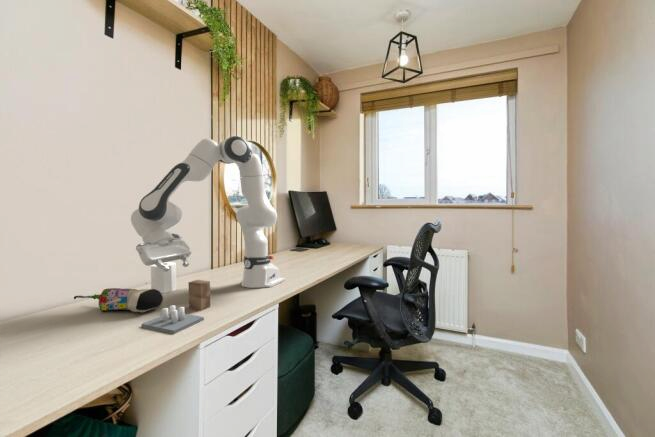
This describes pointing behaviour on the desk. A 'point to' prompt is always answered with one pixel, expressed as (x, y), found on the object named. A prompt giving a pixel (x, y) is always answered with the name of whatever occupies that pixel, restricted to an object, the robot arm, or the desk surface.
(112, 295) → the toy
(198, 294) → the block
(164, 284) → the toilet paper
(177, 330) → the stand
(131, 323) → the desk surface
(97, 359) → the desk surface
